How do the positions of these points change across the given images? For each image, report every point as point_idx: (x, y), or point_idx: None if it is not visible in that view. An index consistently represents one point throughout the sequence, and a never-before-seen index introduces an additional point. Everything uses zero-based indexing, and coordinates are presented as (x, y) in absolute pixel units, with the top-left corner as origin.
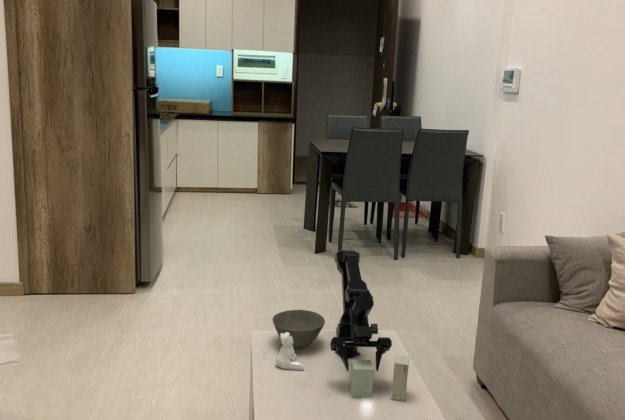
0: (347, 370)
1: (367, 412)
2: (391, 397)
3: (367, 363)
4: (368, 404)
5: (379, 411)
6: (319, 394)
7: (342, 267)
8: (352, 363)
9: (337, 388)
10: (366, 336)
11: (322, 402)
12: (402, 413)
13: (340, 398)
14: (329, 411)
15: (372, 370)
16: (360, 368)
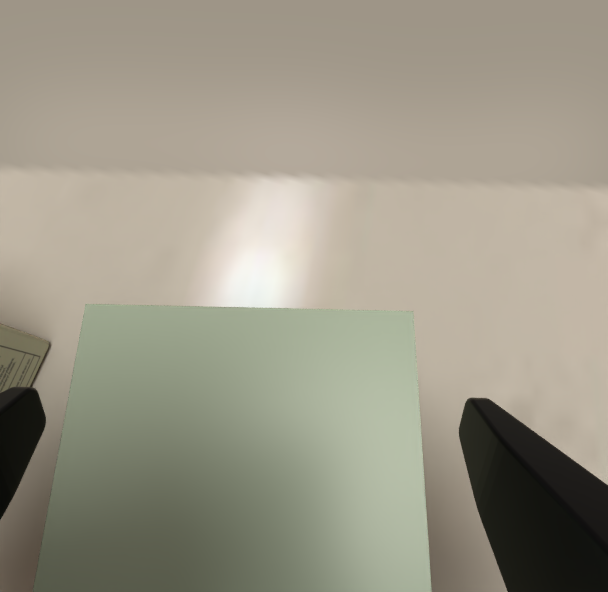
0: (482, 402)
1: (273, 197)
2: (42, 340)
3: (130, 521)
4: (243, 285)
5: (191, 205)
6: (600, 432)
7: None
8: (420, 524)
9: (454, 532)
10: None
11: (568, 319)
12: (48, 180)
13: (437, 369)
14: (517, 215)
15: (117, 312)
16: (303, 331)
